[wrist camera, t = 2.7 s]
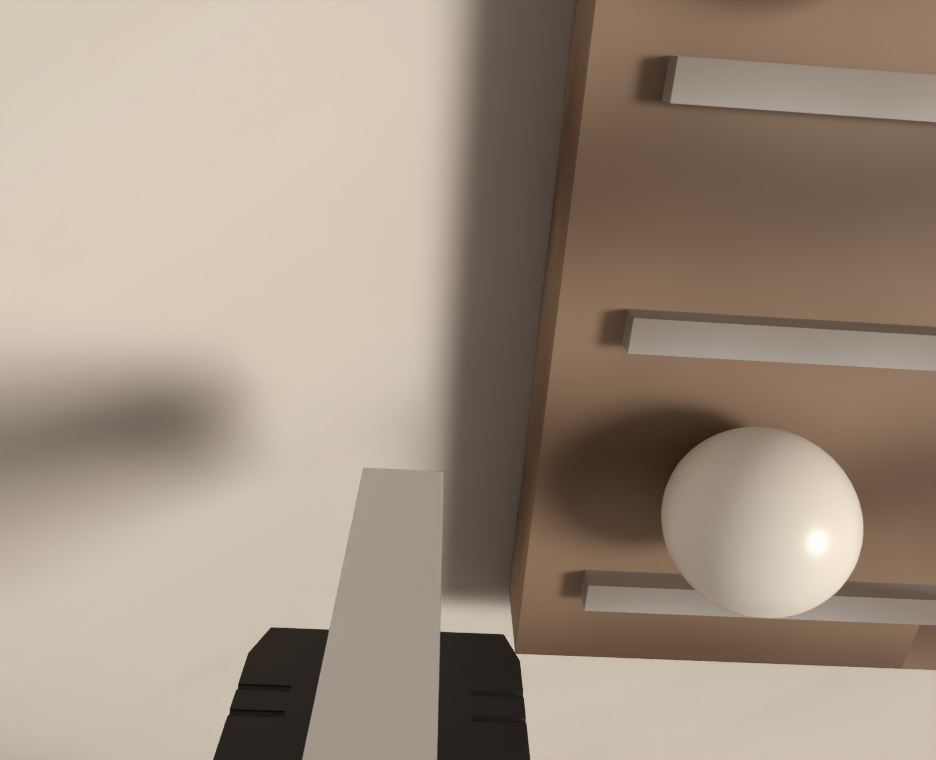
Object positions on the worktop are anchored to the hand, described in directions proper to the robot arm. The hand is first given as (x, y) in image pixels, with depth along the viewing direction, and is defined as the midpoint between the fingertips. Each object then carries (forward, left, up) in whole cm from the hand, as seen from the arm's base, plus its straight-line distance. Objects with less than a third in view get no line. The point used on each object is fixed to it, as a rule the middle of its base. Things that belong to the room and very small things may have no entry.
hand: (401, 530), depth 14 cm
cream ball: (0, -8, -1) cm, 8 cm away
